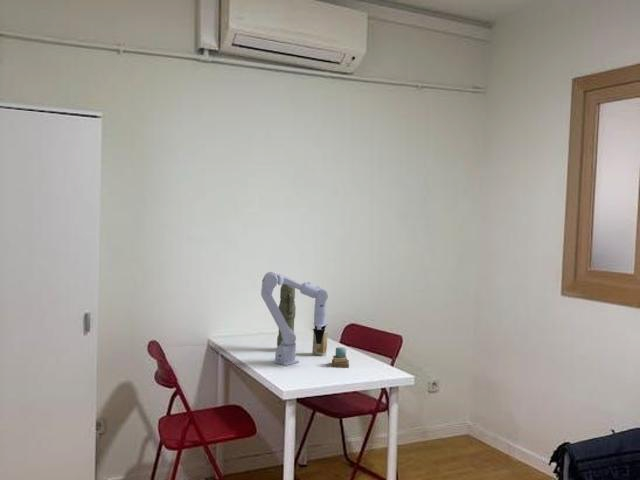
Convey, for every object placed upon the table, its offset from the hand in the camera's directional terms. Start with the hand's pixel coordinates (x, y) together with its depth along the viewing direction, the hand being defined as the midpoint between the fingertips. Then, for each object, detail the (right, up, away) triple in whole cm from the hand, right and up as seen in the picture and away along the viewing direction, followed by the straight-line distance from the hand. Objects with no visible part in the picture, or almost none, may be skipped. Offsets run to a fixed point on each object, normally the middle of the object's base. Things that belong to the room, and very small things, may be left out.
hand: (319, 342), depth 273 cm
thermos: (-18, -9, +23) cm, 31 cm away
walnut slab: (+10, -11, -3) cm, 15 cm away
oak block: (+10, -9, -3) cm, 14 cm away
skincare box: (0, -10, +17) cm, 19 cm away
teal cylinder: (+10, -7, -3) cm, 12 cm away
